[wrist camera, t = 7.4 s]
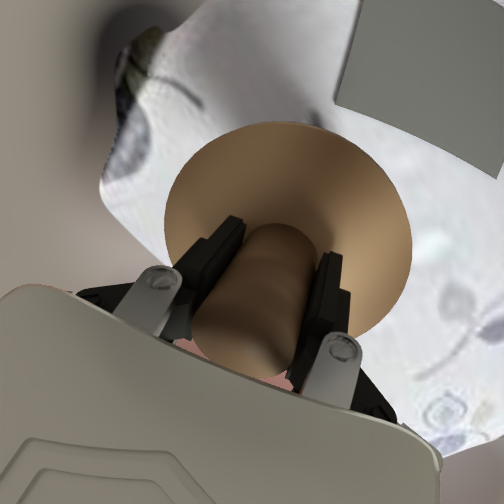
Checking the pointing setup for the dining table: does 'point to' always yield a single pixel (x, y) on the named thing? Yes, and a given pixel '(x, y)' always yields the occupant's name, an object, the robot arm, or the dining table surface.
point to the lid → (287, 237)
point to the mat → (432, 74)
